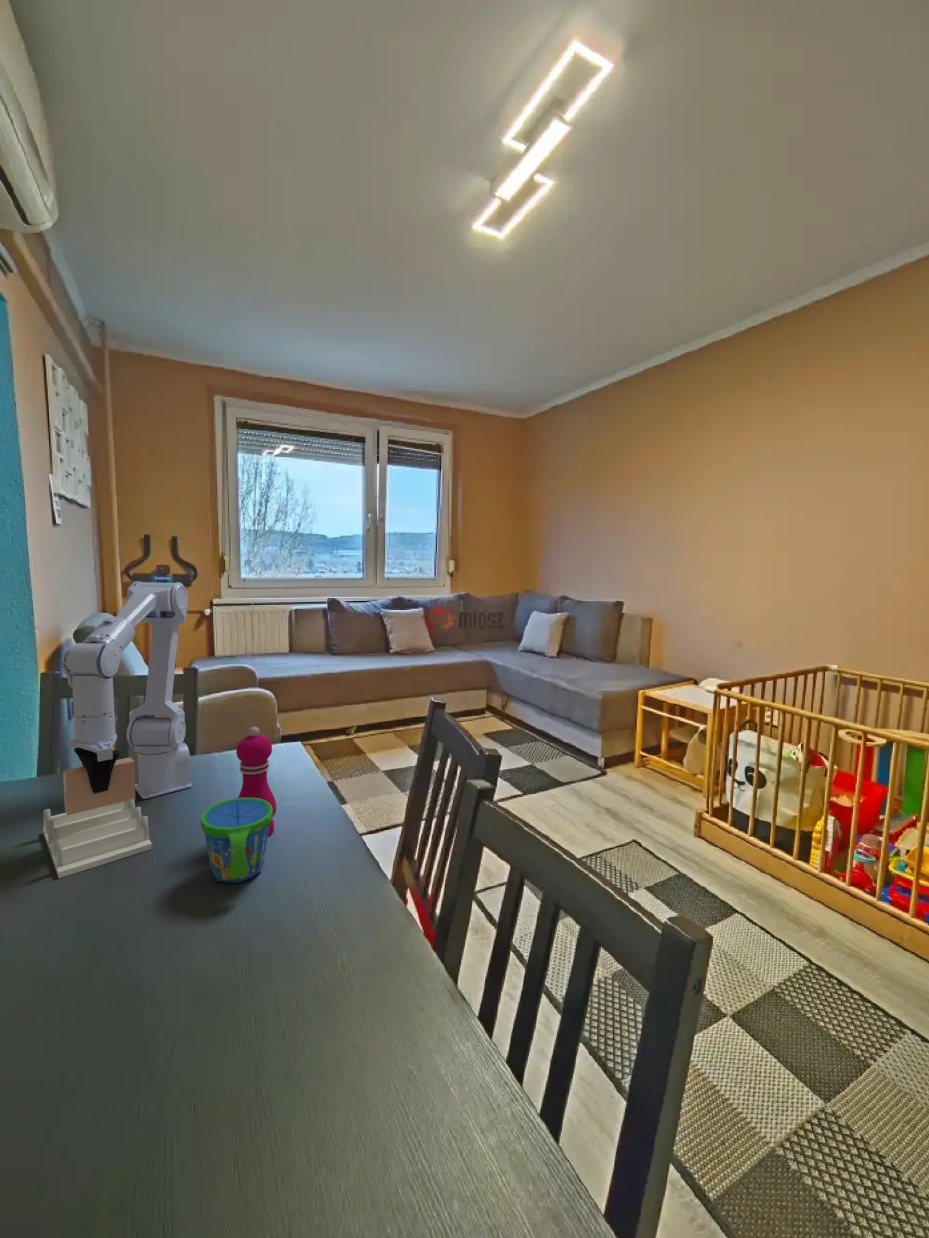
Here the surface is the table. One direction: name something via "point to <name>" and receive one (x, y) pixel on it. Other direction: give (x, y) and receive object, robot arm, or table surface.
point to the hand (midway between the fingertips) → (98, 788)
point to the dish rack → (95, 836)
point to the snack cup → (237, 837)
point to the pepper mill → (256, 768)
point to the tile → (84, 799)
